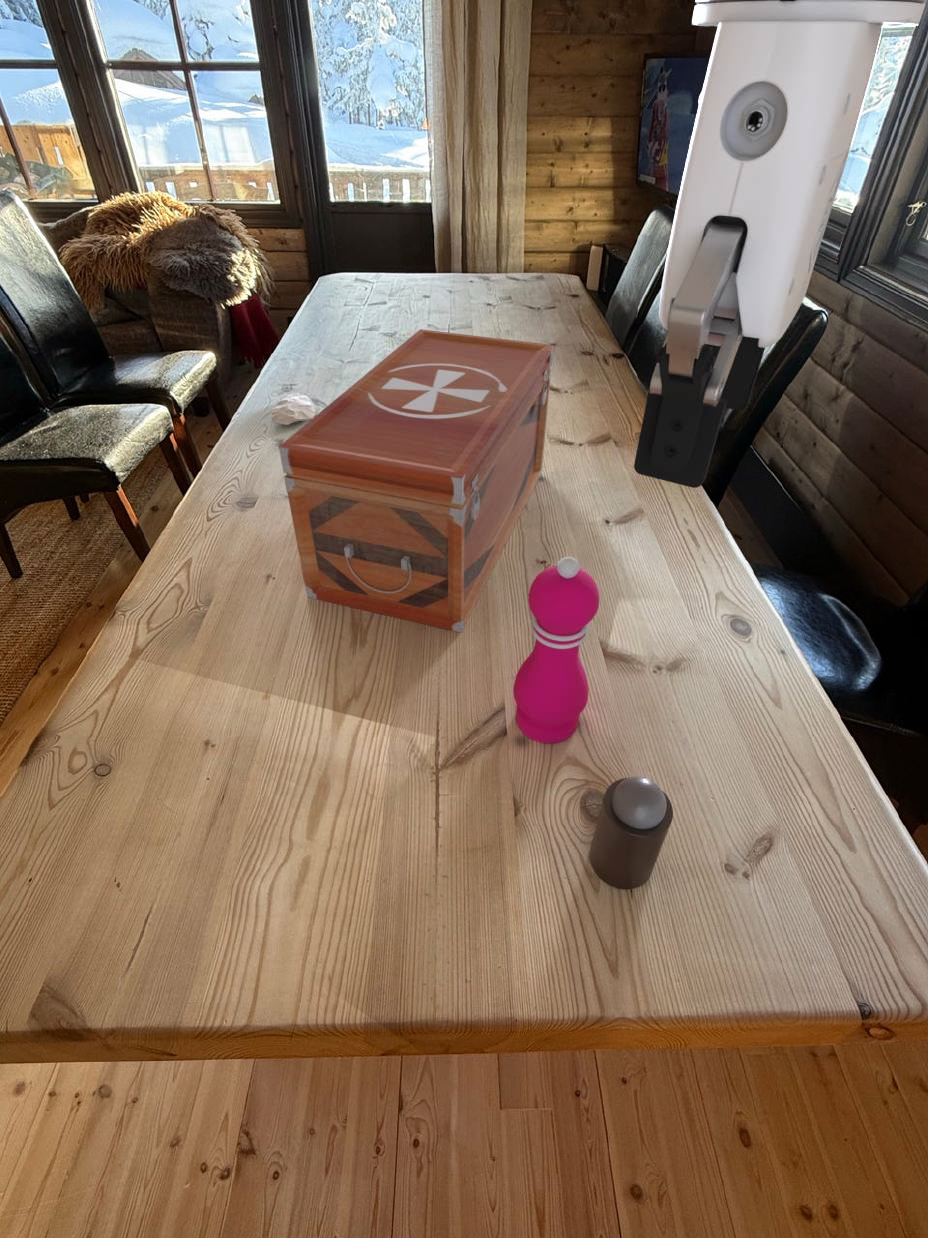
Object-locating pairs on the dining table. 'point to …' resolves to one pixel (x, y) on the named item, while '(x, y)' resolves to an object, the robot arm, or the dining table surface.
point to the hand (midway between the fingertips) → (694, 437)
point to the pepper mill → (556, 653)
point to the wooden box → (419, 475)
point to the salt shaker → (630, 832)
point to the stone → (293, 409)
